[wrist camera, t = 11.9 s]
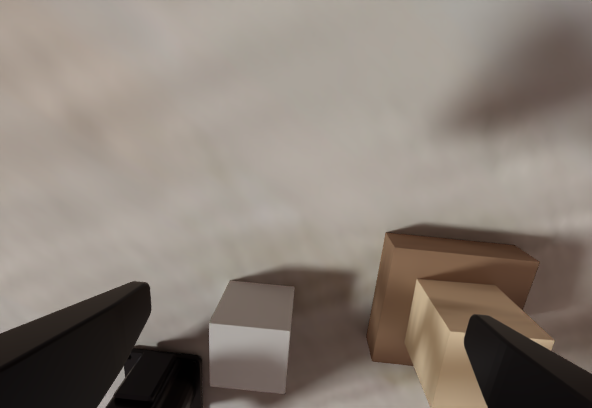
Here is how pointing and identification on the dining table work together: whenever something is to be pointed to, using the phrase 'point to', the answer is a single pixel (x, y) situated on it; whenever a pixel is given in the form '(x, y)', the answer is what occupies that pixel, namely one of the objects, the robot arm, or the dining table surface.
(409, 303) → the walnut block
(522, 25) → the dining table surface
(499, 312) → the maple cube
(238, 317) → the grey cube
